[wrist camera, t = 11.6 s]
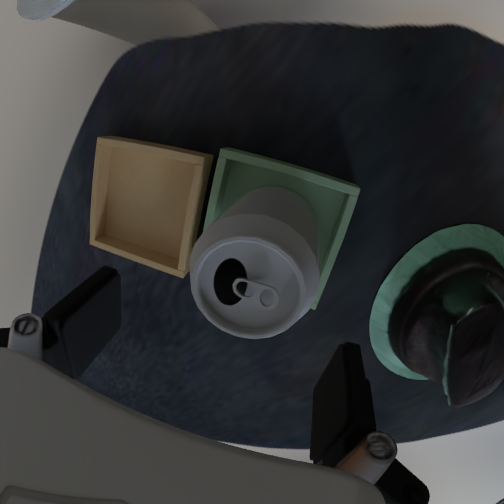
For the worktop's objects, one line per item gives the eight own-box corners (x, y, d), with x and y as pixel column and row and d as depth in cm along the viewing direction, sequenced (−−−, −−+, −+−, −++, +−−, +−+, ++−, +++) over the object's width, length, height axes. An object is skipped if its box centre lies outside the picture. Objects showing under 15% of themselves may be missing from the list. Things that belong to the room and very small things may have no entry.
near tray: (228, 147, 24) (220, 148, 22) (356, 184, 24) (360, 188, 21) (203, 262, 29) (195, 272, 27) (315, 296, 28) (315, 310, 26)
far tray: (111, 135, 26) (97, 136, 24) (214, 155, 25) (204, 157, 23) (102, 236, 30) (89, 244, 28) (192, 267, 30) (183, 278, 27)
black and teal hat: (326, 302, 27) (484, 174, 20) (387, 344, 38) (493, 262, 31) (385, 451, 16) (590, 290, 9) (426, 434, 27) (548, 343, 20)
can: (240, 175, 25) (184, 206, 14) (326, 195, 24) (339, 244, 13) (226, 254, 28) (174, 328, 17) (304, 273, 27) (297, 363, 16)
